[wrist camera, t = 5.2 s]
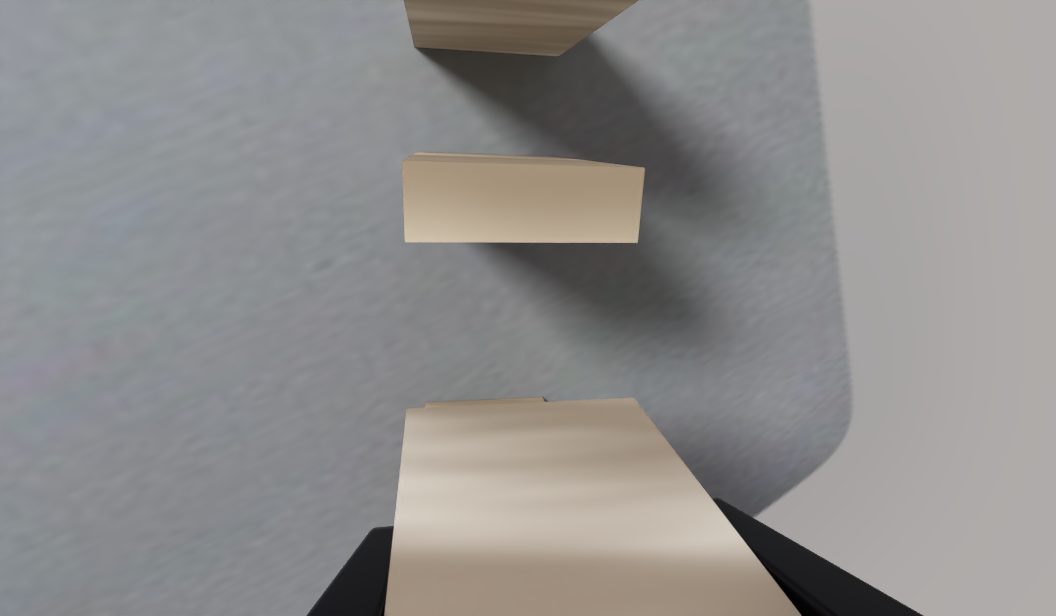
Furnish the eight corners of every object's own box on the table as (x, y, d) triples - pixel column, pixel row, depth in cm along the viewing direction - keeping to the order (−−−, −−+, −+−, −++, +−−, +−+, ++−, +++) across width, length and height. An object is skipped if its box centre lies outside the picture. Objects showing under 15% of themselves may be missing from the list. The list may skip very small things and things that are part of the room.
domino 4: (551, 199, 20) (637, 243, 11) (418, 197, 19) (405, 242, 11) (553, 156, 19) (645, 167, 11) (417, 151, 19) (402, 160, 10)
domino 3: (626, 458, 12) (1061, 1179, 4) (409, 473, 11) (331, 1451, 3) (633, 397, 12) (1148, 1065, 3) (406, 408, 11) (303, 1354, 2)
